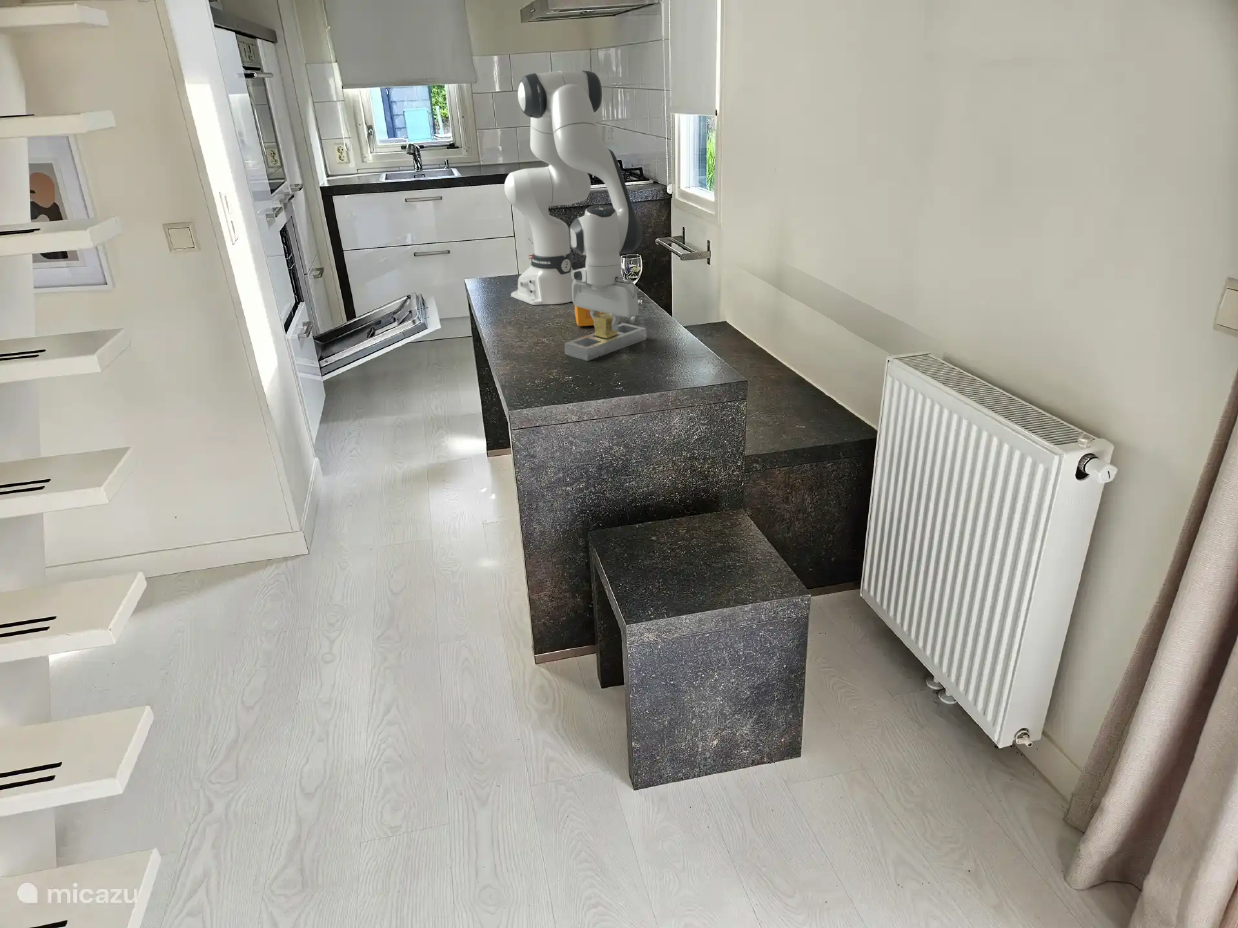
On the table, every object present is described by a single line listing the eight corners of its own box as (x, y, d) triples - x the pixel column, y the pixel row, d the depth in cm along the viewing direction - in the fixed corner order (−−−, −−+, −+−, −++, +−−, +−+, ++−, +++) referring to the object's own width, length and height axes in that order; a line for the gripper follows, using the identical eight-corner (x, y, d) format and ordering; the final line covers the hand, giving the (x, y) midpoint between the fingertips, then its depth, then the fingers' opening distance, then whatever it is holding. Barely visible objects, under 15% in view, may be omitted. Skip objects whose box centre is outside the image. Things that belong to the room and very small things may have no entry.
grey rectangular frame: (565, 354, 205) (564, 343, 204) (623, 333, 219) (623, 323, 218) (587, 361, 200) (586, 349, 199) (646, 339, 214) (646, 328, 213)
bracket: (604, 327, 225) (602, 284, 220) (578, 329, 225) (576, 286, 219) (600, 316, 235) (598, 275, 230) (575, 318, 234) (572, 277, 229)
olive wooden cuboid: (595, 335, 208) (594, 316, 206) (605, 332, 211) (605, 313, 208) (606, 338, 206) (605, 319, 203) (617, 334, 208) (616, 315, 206)
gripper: (643, 277, 197) (644, 333, 203) (584, 267, 210) (586, 319, 216) (626, 282, 193) (627, 339, 199) (566, 271, 205) (569, 324, 212)
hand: (605, 328), depth 207 cm, fingers closed on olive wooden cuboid, 4 cm apart
